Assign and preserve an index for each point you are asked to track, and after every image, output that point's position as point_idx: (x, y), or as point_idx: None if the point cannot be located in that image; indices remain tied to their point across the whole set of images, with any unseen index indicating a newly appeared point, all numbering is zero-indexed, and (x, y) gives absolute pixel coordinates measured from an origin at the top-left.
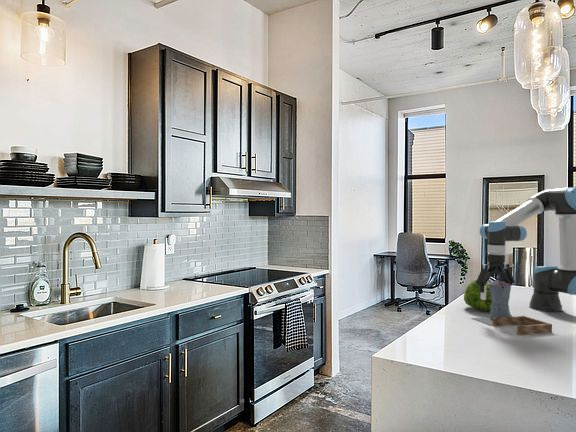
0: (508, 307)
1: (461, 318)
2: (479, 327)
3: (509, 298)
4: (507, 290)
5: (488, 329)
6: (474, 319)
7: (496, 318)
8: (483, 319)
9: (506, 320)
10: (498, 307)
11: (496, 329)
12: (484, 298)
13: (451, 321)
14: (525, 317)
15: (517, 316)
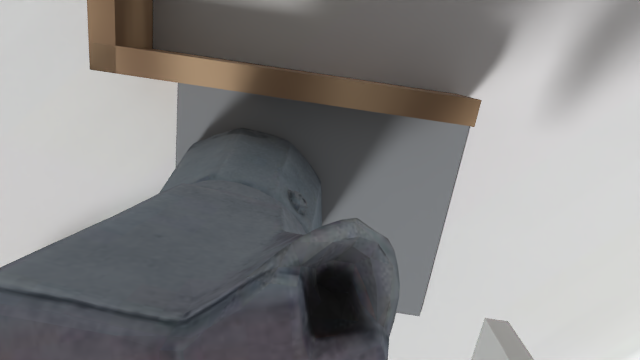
0: (183, 176)
1: None
2: (609, 114)
3: None
4: (141, 245)
5: (604, 39)
6: (427, 283)
7: (458, 96)
8: None
9: (333, 77)
10: (304, 216)
11: (539, 11)
12: (515, 342)
13: (630, 312)
14: (117, 22)
15: (180, 70)
